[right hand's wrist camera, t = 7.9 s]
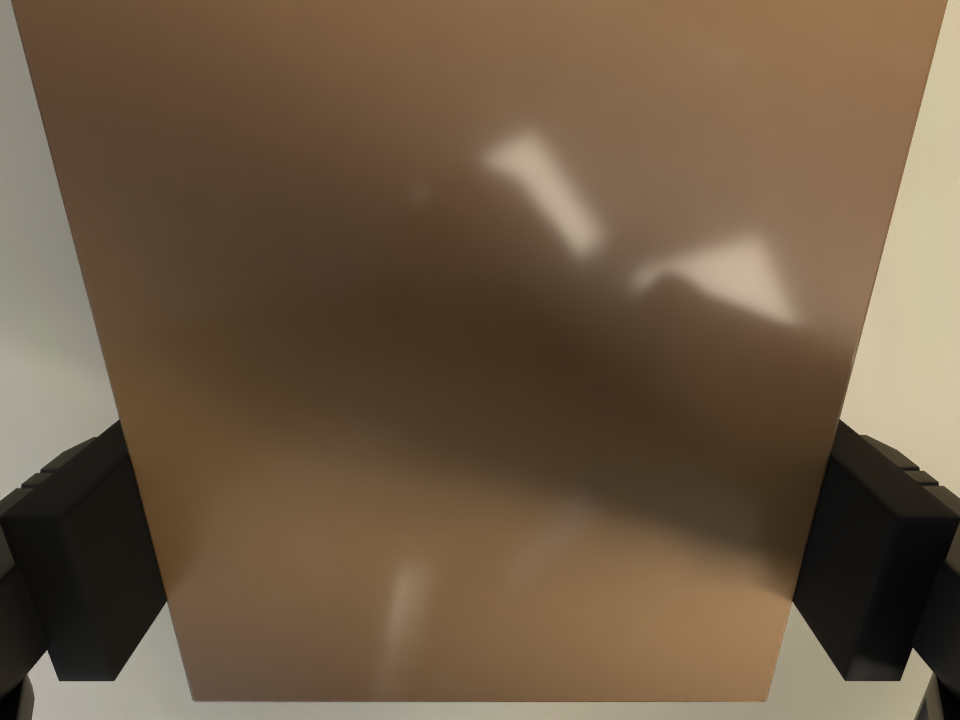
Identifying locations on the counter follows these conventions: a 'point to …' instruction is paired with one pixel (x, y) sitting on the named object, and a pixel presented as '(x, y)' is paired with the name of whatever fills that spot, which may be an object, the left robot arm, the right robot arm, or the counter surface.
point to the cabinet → (479, 322)
